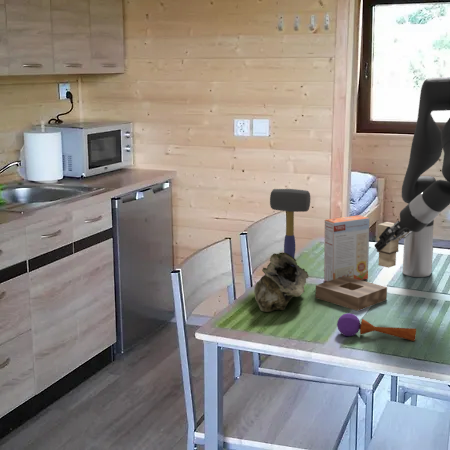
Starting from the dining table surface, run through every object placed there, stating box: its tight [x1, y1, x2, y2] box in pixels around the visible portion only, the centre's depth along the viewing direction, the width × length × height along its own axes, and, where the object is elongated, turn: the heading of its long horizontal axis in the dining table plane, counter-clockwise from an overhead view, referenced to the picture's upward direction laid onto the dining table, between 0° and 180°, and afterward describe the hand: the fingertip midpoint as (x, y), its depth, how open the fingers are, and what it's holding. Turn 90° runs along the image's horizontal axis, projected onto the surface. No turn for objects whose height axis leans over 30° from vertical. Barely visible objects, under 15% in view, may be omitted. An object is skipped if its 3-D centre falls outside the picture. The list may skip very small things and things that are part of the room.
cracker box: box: [323, 214, 370, 282], centre depth 228 cm, size 14×6×21 cm, turn 115°
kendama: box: [336, 312, 417, 342], centre depth 182 cm, size 6×6×20 cm
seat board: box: [315, 276, 388, 312], centre depth 212 cm, size 14×16×4 cm
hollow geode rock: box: [253, 252, 310, 313], centre depth 211 cm, size 28×13×15 cm
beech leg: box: [376, 221, 400, 269], centre depth 198 cm, size 4×4×12 cm
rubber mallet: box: [269, 188, 311, 266], centre depth 231 cm, size 12×8×30 cm, turn 70°
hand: (381, 246), depth 199 cm, fingers closed on beech leg, 4 cm apart
